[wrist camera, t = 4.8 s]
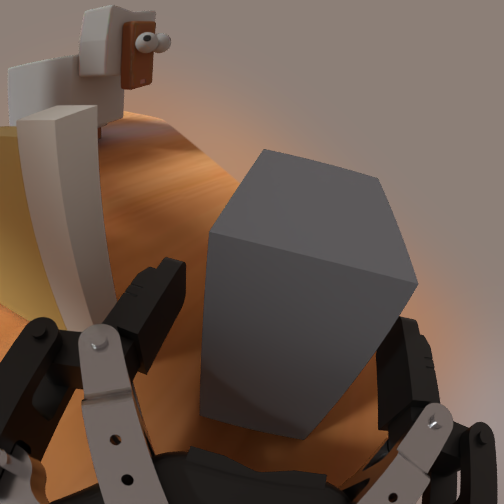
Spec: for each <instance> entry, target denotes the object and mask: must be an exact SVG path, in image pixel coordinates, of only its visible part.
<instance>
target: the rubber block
mask: <svg viewBox="0 0 504 504" xmlns="http://www.w3.org/2000/svg"><path fill="white" fill-rule="evenodd" d="M417 285H418V282H417V279H416V275H415V272H414V269H413V266H412V263H411V260H410V257H409V254H408V252H407V249H406V246H405V243H404V240H403V238H402V235H401V233H400V230H399V227H398V225H397V222H396V220H395V217H394V215H393V212H392V210H391V207H390V205H389V202H388V200H387V198H386V196H385V193H384V191H383V189H382V186H381V184H380V182H379V180H378V178H375V177H372V176H368V175H365V174H362V173H358V172H355V171H351V170H347V169H344V168H340V167H337V166H333V165H329V164H325V163H321V162H317V161H314V160H310V159H306V158H301V157H297V156H293V155H289V154H284V153H280V152H275V151H271V150H266V149H264V150H263V151H262V153H261V154H260V155H259V157H258V159H257V160H256V161H255V163H254V165H253V166H252V167H251V169H250V170H249V172H248V173H247V175H246V176H245V178H244V179H243V181H242V182H241V184H240V185H239V187H238V188H237V190H236V191H235V193H234V194H233V196H232V197H231V199H230V200H229V202H228V203H227V205H226V206H225V208H224V209H223V211H222V213H221V214H220V216H219V217H218V219H217V220H216V222H215V223H214V225H213V227H212V228H211V230H210V231H209V240H208V253H207V266H206V280H205V295H204V312H203V330H202V352H201V378H200V416H203V417H207V418H210V419H214V420H217V421H221V422H224V423H228V424H232V425H236V426H239V427H243V428H248V429H252V430H256V431H261V432H265V433H270V434H275V435H280V436H285V437H290V438H296V439H301V440H304V439H305V438H306V437H307V436H308V435H309V434H310V433H311V432H312V431H313V429H314V428H315V427H316V426H317V425H318V424H319V423H320V422H321V420H322V419H323V418H324V417H325V416H326V415H327V413H328V412H329V411H330V410H331V409H332V408H333V406H334V405H335V404H336V403H337V401H338V400H339V399H340V398H341V397H342V395H343V394H344V393H345V392H346V390H347V389H348V388H349V386H350V385H351V384H352V383H353V381H354V380H355V379H356V377H357V376H358V375H359V373H360V372H361V371H362V369H363V368H364V367H365V365H366V364H367V363H368V361H369V360H370V358H371V357H372V356H373V354H374V353H375V351H376V350H377V349H378V347H379V346H380V344H381V343H382V341H383V340H384V338H385V337H386V335H387V334H388V332H389V331H390V329H391V328H392V326H393V325H394V323H395V322H396V320H397V318H398V317H399V315H400V314H401V312H402V310H403V309H404V307H405V306H406V304H407V302H408V301H409V299H410V297H411V296H412V294H413V292H414V291H415V289H416V287H417Z"/></svg>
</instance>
